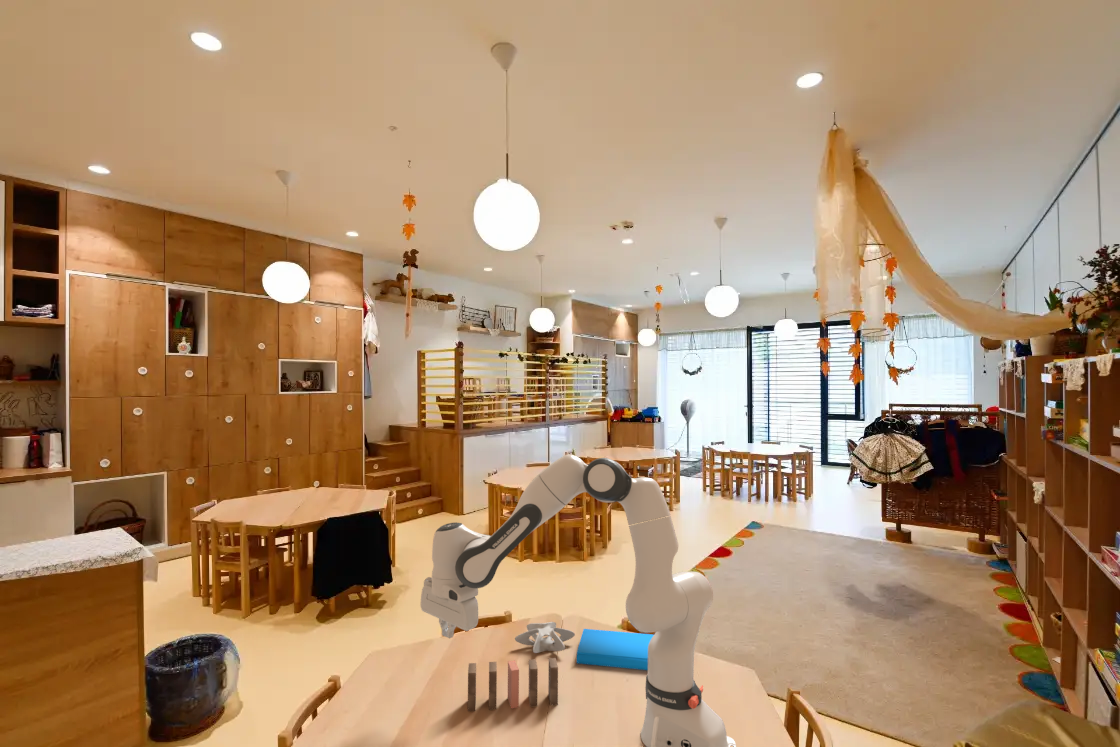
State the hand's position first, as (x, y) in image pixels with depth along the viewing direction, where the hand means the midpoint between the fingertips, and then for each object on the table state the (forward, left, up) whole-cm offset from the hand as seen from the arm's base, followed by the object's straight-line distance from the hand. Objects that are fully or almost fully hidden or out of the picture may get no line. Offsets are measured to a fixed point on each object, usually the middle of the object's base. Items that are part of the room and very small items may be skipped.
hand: (447, 636), depth 145 cm
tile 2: (-9, -8, -19) cm, 22 cm away
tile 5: (-22, -18, -19) cm, 34 cm away
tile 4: (-18, -15, -19) cm, 30 cm away
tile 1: (-5, -4, -19) cm, 20 cm away
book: (-26, -50, -19) cm, 60 cm away
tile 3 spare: (-14, -11, -19) cm, 26 cm away
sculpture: (-3, -42, -19) cm, 46 cm away
